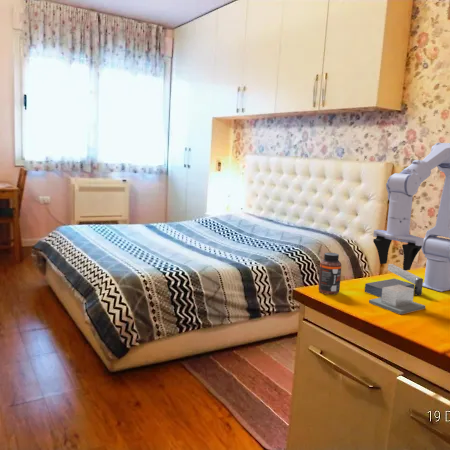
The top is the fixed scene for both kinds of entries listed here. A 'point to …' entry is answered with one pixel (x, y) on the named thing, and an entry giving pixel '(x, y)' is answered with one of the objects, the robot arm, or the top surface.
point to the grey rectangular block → (397, 295)
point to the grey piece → (376, 287)
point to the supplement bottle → (330, 274)
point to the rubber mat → (400, 309)
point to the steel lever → (408, 277)
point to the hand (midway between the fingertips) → (394, 266)
